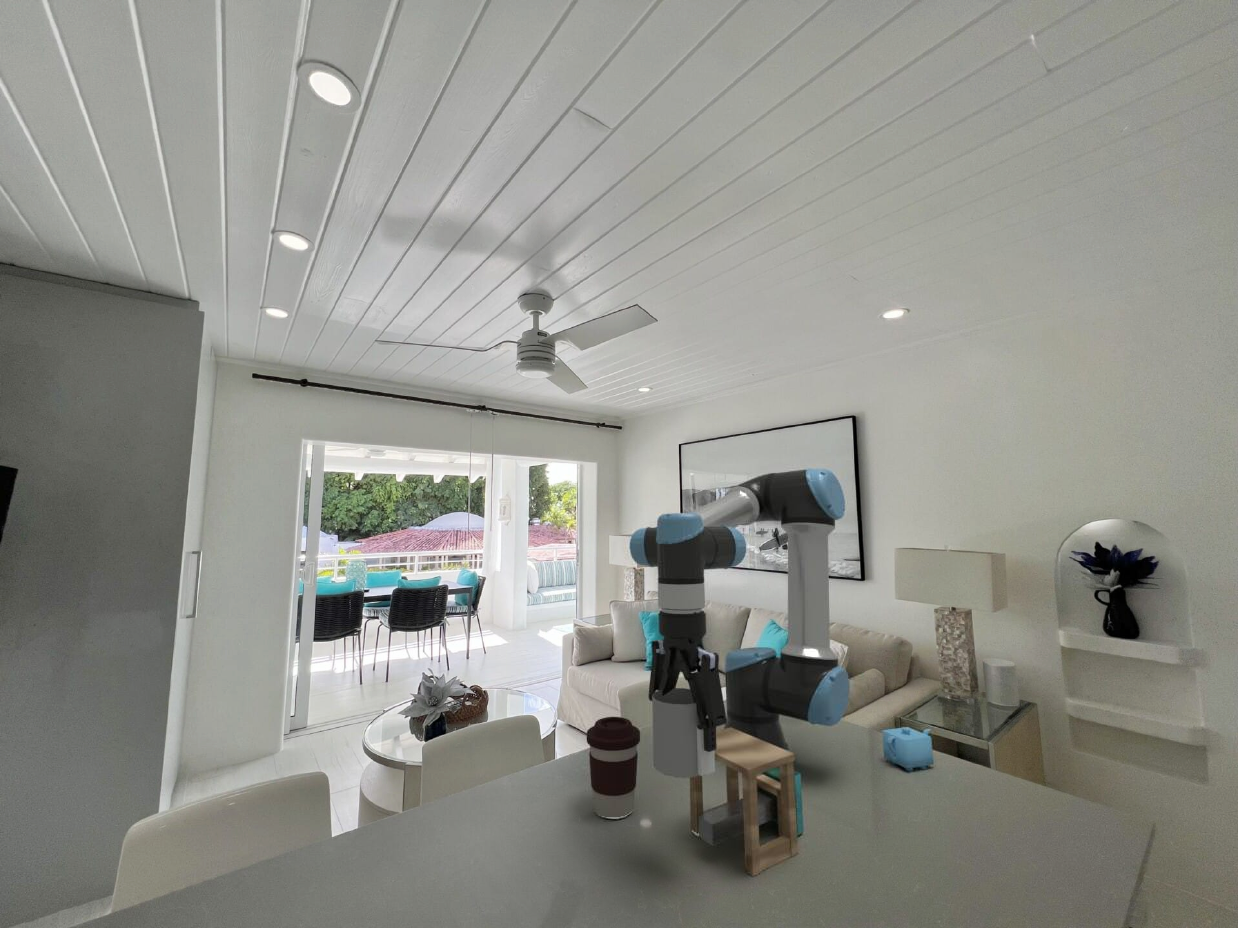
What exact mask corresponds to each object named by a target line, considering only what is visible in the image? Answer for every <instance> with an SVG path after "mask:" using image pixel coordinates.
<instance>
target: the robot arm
mask: <svg viewBox="0 0 1238 928" xmlns="http://www.w3.org/2000/svg"><path fill="white" fill-rule="evenodd" d="M845 510H846V501H845V494H844V491H843V489H842V485H841V483H840V481H839V479H838V477H837V476H836V475H835V474H834V472H832V471H831V470H829V469H828V468H827V469H826V468H807V469H806V468H805V469H799V470H792V471H791V470H789V471H783V472H782V471H781V472H772V473H771V472H770V473H766V474H762V475H759V476H756V477H754V478H751V479H749V480H746V481H744V482H742V483H739V484H738V485H735V486H734V487H731V488H729V489H728V490H727V491H726V492H725V494H724V496H722V497H720V498H718V499H716V500H713V501H710V502H709V503H707V504H705V505H702V506H700V507H698V508H696V509H693V510H692V511H690V512H678V513H677V512H675V513H674V512H673V513H672V512H671V513H662V514H661V515H659V516H658V517H657V522H656V523H657V525H656V527H650V526H649V527H648V526H647V527H643V528H642V527H641V528H639V529H637V530H635V531H634V532H633V533H632V535H631V537H630V540H629V550H630V555H631V557H632V560H633V561H634V562H635V563H636V564H638V565H640V566H645V567H650V568H655V567H656V568H657V606H658V608H660V609H661V610H659V612H658V633H659V635H660V636H662V637H663V639H658V640H652V641H651V643H650V645H651V655H652V657H651V667H650V676H649V686H648V695H647V696H648V700H649V701H650V702H652V695H653V694H654V693H655V692H657V691H660V690H662V696H664V695H665V694H667V693H668V692H670V691H671V690H673V688H676V687H677V684H678V680H679V677H680V673H682V675H683V678H684V680H685V681H687V683H688V686H689V689H690V690H691V694H692V697H693V701H694V703H696V708H697V714H698V718H699V721H700V724H701V725H699V726H697V727H696V729H697V760H698V774H699V775H700V776H702V777H703V776H705V775H708V774H712V773H714V772H716V760H715V752H714V750H716V747H717V745H716V731H717V727H719V726H720V727H721V726H724V727H723V729H727V728H730V727H731V728H734V729H736V730H738V731H741V732H743V733H746V734H748V735H750V736H753V737H755V738H758V739H760V740H762V741H765V742H767V743H770V744H772V745H774V746H777V747H779V748H782V749H784V750H787V751H789V752H790V748H789V744H788V743H787V742H786V738H785V735H784V732H783V728H782V725H781V722H780V716H782V717H788V718H792V719H796V720H798V721H799V720H800V721H804V722H808V723H810V724H811V725H820V726H826V727H833V726H835V725H836V724H838V723H839V722H840V721H841V719H842V718H843V717H844V715H845V712H846V710H847V707H848V704H849V703H848V702H849V698H850V693H851V692H850V691H851V684H850V683H851V682H850V678H849V674H848V671H846V669H844V668H843V667H841V666H839V657H838V656H837V654H836V653H835V652H834V651H833V650H832V649H831V636H830V635H831V633H830V632H831V631H830V630H831V628H830V622H831V621H830V581H829V580H830V578H829V576H830V575H829V571H830V570H829V569H830V567H829V535H830V534H831V533H832V532H834V530H835V529H836V521H838V520H839V519H841V518H843V517H844V516H845ZM757 522H780V528H782V530H783V531H784V532H785V533H786V534H787V644H785V646H784V647H783V648H782V649H781V650H780V657H777V655H778V654H777V652H776V649H775V648H772V647H766V646H765V647H763V646H762V647H760V646H758V647H756V646H755V647H745V648H738V649H734V650H731V651H729V652H728V653H727V654H726V655H725V662H724V670H723V671H724V676H725V677H724V678H725V679H724V680H725V681H724V682H725V700H726V702H724V697H723V691H722V684H721V679H720V678H721V677H720V672H719V662H720V656H719V653H718V652H708V651H707V650H705V647H704V643H703V638H704V637H705V636H706V634H707V616H706V615H707V614H706V612H705V611H704V610H702V609H704V608H706V594H705V593H706V591H705V570H717V569H719V570H720V569H723V570H727V569H729V568H734V567H736V566H738V565H739V564H741V563H742V561H744V559H745V557H746V553H747V543H746V539H745V537H744V535H743V534H742V532H741V531H740V530H738V529H737V527H740V526H750V525H752V524H754V523H757ZM725 703H726V709H725ZM706 716H707V718H706Z"/></svg>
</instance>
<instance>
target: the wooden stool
mask: <svg viewBox="0 0 1238 928" xmlns="http://www.w3.org/2000/svg"><path fill="white" fill-rule="evenodd" d="M716 745H717V747H716V750H714V752H715V762H718V763H720V764H722V765H724V766H725V776H726V778H725V780H726V782H725V783H726V802H724V803H722V804H720V805H719V804H718V805H717V806H714V807H712V808H709V809H707V810H704V792H703V790H704V789H703V776H695V777H691V778H689V800H690V802H689V803H690V804H689V806H690V807H689V808H690V809H689V810H690V831H691V830H693V831H694V832H696V833H697V834H698V833H699V815H702V814H705V813H707V812H710V811H712V810H715V809H717V808H720V807H722V806H725V805H727V804H730V803H732V802H735V801H737V800H740V783H739V782H740V781H739V773H740V774H741V783H742V784H741V786H742V789H741V790H742V791H741V792H742V798H743V816H744V832H743V834H744V835H743V836H744V837H743V838H744V861H745V871H746V870H747V872H749V873H750V874H751V875H753V876H754V875H756V876H758V875H760V874H761V873H762V872H764V871H766V870H768V869H769V868H771V867H773V866H775V865H778V864H779V863H781V862H784V861H785V860H787V859H789V858H792V857H794V856H797V855H799V847H798V844H799V843H798V835H797V823H796V805H795V786H794V771H795V769H794V761H795V759H796V757H795V753H794V752H791V751H790V750H789V751H787V750H784V749H782V748H779V747H777V746H774V745H772V744H770V743H767V742H765V741H762V740H760V739H758V738H755V737H753V736H750V735H748V734H746V733H743V732H741V731H738V730H736V729H734V728H731V727H730V728H727V729H724V728H723V729H720V730H716ZM778 766H780V782H778V781H776V780H773V779H771V778H769V777H767V776H765V775H763V774H761V773H762V772H765V771H767V770H770V769H773V768H776V767H778ZM764 789H765V790H767V791H768V792H770V793H772V794H774V795H776V796H777V809H778V824H777V825H778V829H777V830H778V837H776V838H774V839H772V840H771V841H768V842H766V843H764V844H762V845H760V827H759V826H760V825H758V803H757V793H758V792H760V791H763V790H764ZM767 868H768V869H767ZM763 870H764V871H763ZM747 872H746V873H747ZM749 873H748V874H749ZM759 873H760V874H759ZM750 874H749V875H750ZM751 875H750V876H751ZM753 876H752V877H753ZM754 877H755V876H754Z"/></svg>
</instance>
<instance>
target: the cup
mask: <svg viewBox="0 0 1238 928" xmlns="http://www.w3.org/2000/svg"><path fill="white" fill-rule="evenodd" d="M651 702H652V704H651V706H652V707H651V708H652V742H653V744H652V747H653V749H652V751H653V753H652V754H653V755H652V756H653V766H654V768H655V770H656V771H657V772H659V773H661V774H663V775H664V776H668V777H673V778H677V779H678V778H679V779H680V778H681V779H682V778H684V779H688V778H689V779H690V778H691V777H695V776H700V775H699V774H698V760H697V729H696V727H697V726H699V725H701V724H700V721H699V718H698V714H697V708H696V703H694V701H693V697H692V694H691V690H690V688H685V687H684V688H682V687H681V688H680V687H677V688H673V690H671V691H670V692H668V693H667V694H665V695H664V696H662V690H660V691H658V690H656V692H655V693H654V694H653V695H652V701H651ZM706 718H708V715H707V716H706Z"/></svg>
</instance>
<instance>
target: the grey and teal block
mask: <svg viewBox="0 0 1238 928" xmlns="http://www.w3.org/2000/svg"><path fill="white" fill-rule="evenodd" d="M761 774H763V775H765V776H767V777H769V778H771V779H773V780H776V781H778V782H780V766H778V767H776V768H773V769H770V770H767V771H765V772H762V773H761ZM801 777H802V775H801V773H800V772H797V771H795V770H794V786H795V805H796V823H797V836H800V835H802V834H803V833H804V832H805V831H804V830H805V829H804V813H803V811H804V810H803V796H802V795H803V794H802V780H801V779H802V778H801ZM757 803H758V825H759V826H761V825H763V824H765V823H768V822H770V821H772V822H774V823H776V824H777V825H778V809H777V796H776V795H774V794H772V793H770V792H768V791H767V790H765V789H764V790H763V791H760V792H758V793H757ZM741 834H744V816H743V797H742V798H739V800H737V801H735V802H732V803H730V804H727V805H725V806H722V807H720V808H717V809H715V810H712V811H710V812H707V813H705V814H702V815H699V836H698V837H699V838H700V839H702V840H703V841H704V842H706V843H707V844H709V845H711V846H712V847H714V846H716V845H718V844H721V843H723V842H725V841H727V840H730V839H731V838H734V837H736V836H739V835H741Z"/></svg>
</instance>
